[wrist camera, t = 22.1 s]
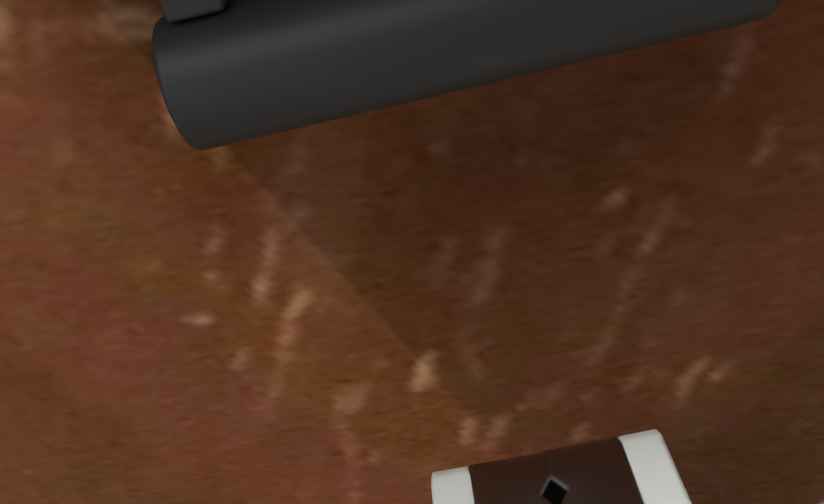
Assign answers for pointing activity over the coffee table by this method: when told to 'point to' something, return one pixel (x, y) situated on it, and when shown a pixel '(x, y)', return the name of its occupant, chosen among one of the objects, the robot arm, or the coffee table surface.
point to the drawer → (386, 52)
